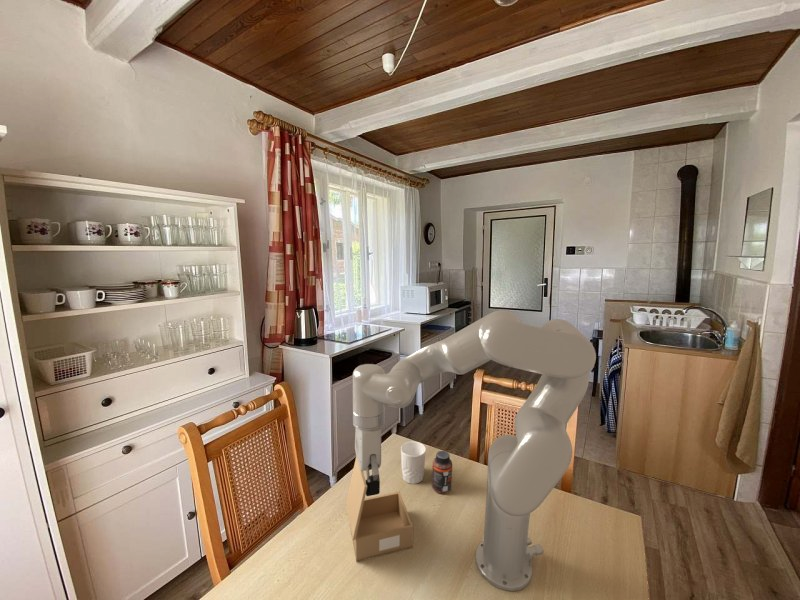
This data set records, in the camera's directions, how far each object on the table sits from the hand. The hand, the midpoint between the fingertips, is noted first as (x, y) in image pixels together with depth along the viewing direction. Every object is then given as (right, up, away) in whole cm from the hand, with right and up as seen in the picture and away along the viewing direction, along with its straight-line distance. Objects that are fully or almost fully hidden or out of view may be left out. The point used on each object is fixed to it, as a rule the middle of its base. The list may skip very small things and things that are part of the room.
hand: (368, 480), depth 84 cm
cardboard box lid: (-3, -4, 0) cm, 5 cm away
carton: (+3, -16, +4) cm, 16 cm away
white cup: (+12, -12, +25) cm, 30 cm away
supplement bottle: (+21, -13, +20) cm, 32 cm away
